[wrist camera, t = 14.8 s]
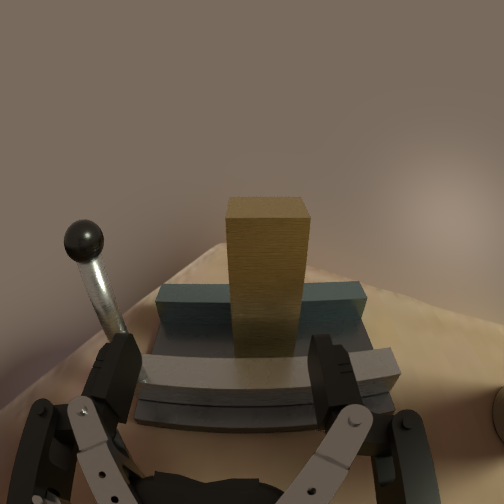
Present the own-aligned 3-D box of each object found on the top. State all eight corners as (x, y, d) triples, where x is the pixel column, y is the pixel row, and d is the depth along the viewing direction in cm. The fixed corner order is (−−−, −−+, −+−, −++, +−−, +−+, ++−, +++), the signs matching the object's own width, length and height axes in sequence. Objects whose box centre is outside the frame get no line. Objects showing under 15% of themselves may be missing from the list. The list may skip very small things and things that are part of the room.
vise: (390, 416, 20) (408, 392, 17) (137, 423, 19) (120, 400, 17) (349, 303, 33) (356, 276, 31) (170, 306, 33) (164, 278, 31)
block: (293, 356, 25) (310, 217, 18) (234, 358, 25) (225, 218, 18) (289, 327, 29) (300, 197, 22) (236, 328, 29) (229, 197, 22)
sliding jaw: (391, 395, 20) (471, 229, 12) (131, 402, 20) (51, 232, 12) (380, 366, 23) (439, 205, 15) (140, 371, 23) (81, 206, 15)
